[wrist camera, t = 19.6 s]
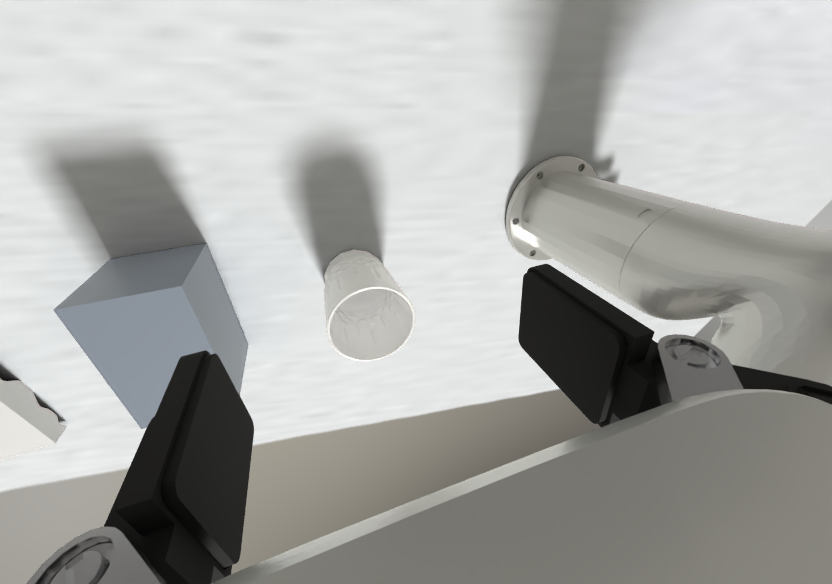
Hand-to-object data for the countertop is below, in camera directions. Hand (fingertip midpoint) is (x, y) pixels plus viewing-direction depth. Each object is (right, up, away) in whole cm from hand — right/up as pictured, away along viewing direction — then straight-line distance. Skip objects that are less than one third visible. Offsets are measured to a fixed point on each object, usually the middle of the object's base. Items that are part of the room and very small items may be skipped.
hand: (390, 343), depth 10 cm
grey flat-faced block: (-22, 0, +23) cm, 32 cm away
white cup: (-6, +3, +28) cm, 29 cm away
